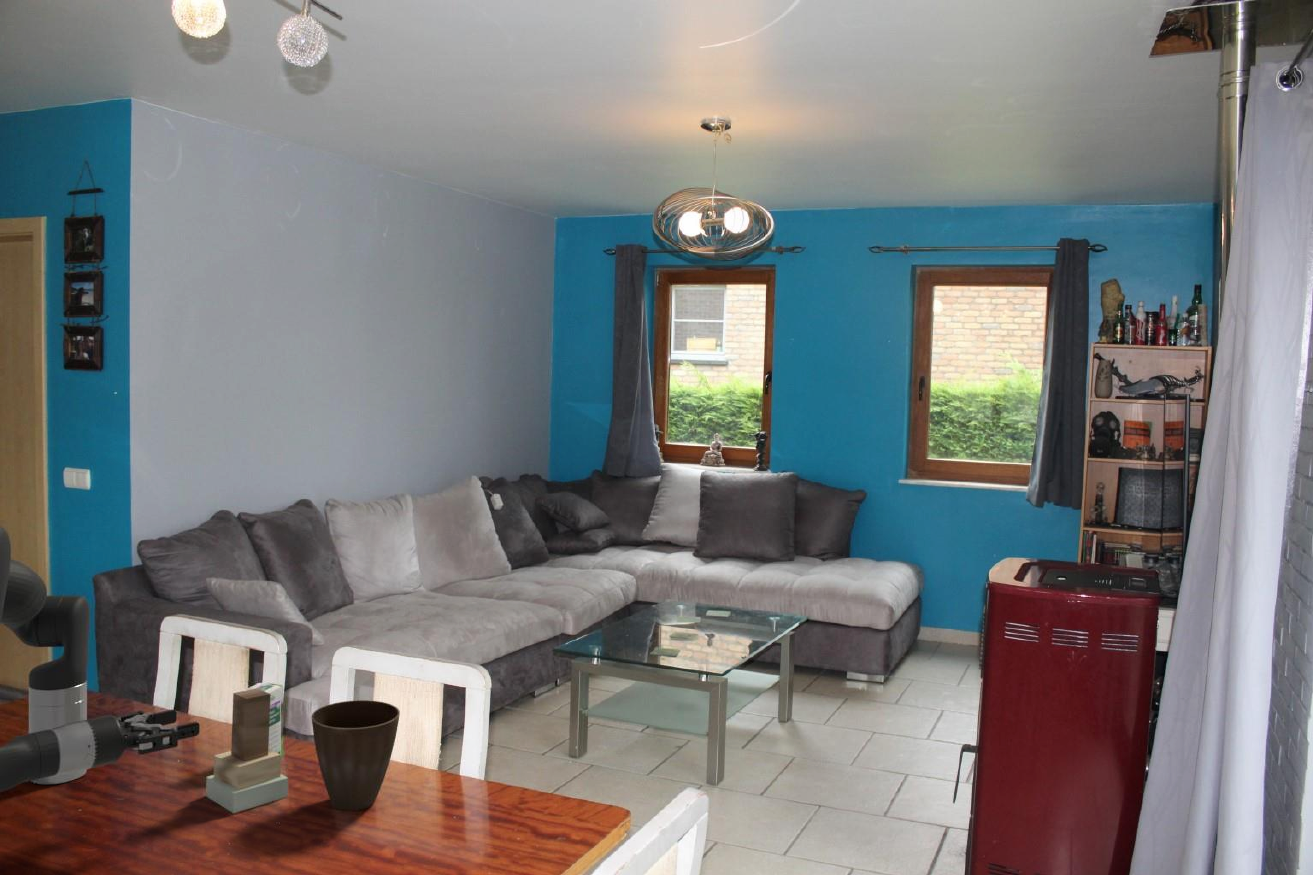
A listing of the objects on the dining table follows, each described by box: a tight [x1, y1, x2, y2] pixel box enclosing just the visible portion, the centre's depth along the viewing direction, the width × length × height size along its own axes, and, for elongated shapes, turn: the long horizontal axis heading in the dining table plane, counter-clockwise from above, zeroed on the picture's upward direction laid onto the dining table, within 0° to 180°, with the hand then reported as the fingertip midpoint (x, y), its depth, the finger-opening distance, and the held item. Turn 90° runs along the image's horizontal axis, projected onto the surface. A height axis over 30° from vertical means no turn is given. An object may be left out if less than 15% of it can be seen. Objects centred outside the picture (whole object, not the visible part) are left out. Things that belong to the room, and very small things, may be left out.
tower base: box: [205, 773, 289, 814], centre depth 183 cm, size 10×10×4 cm
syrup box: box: [242, 682, 284, 759], centre depth 200 cm, size 6×6×14 cm
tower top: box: [213, 749, 282, 790], centre depth 183 cm, size 8×8×4 cm
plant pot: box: [311, 699, 401, 811], centre depth 182 cm, size 15×15×16 cm
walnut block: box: [230, 688, 270, 761], centre depth 183 cm, size 4×4×11 cm
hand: (186, 721), depth 174 cm, fingers open, 8 cm apart
